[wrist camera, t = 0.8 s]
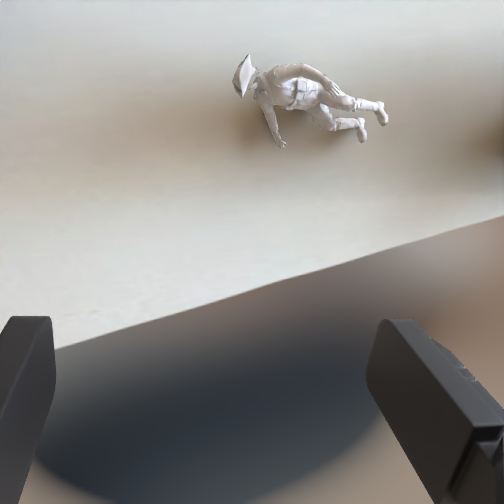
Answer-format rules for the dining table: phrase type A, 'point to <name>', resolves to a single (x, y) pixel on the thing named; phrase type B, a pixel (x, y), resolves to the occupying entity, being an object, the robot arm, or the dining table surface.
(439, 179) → the dining table surface
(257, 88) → the soldier figure
